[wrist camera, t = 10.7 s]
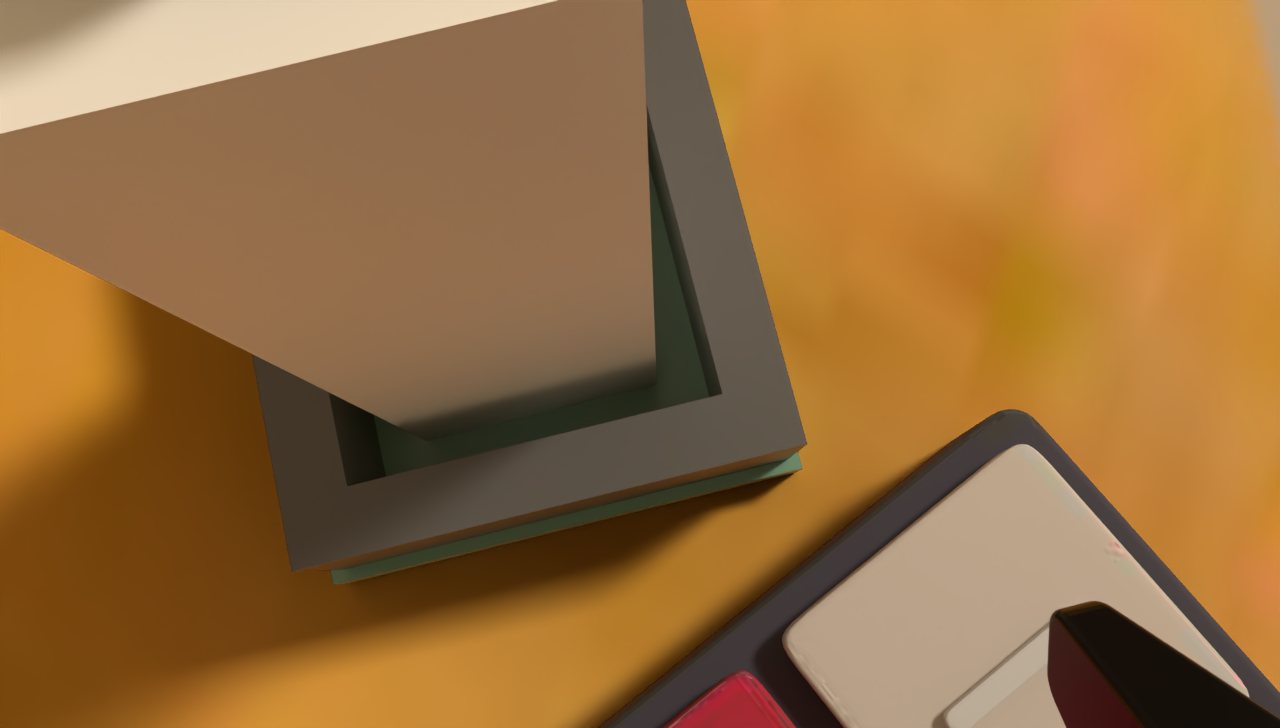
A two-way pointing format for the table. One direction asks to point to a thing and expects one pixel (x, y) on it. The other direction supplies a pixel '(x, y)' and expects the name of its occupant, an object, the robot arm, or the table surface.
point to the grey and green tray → (581, 433)
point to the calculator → (941, 605)
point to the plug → (353, 187)
